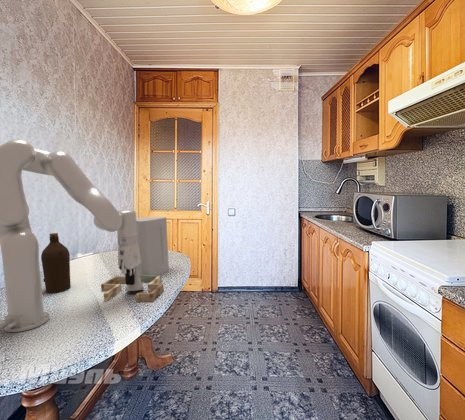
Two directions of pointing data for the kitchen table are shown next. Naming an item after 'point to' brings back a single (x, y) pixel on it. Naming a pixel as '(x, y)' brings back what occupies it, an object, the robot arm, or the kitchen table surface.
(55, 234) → the olive oil
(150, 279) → the zigzag wooden frame
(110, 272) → the kitchen table surface
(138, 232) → the paper bag
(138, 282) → the flask
